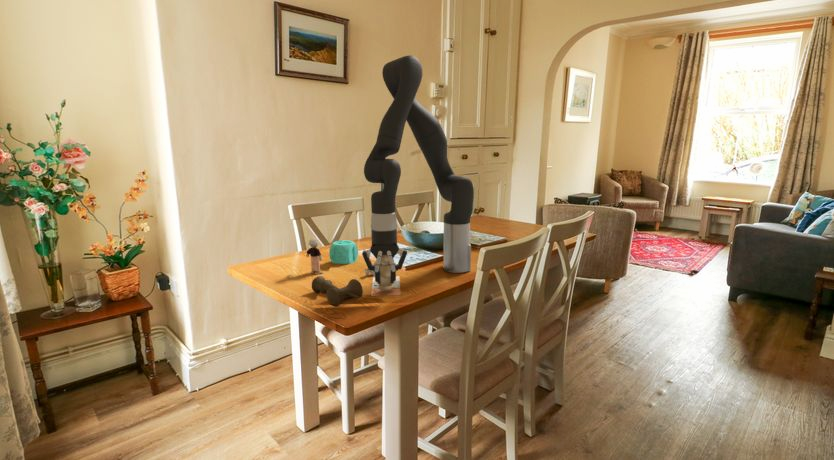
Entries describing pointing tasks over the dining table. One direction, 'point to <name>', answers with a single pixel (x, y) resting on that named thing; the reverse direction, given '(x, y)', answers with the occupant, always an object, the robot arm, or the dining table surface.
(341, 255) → the decorative dice
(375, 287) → the board
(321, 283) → the kendama
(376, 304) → the dining table surface
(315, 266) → the grandmother figurine
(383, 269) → the pawn
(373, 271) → the soldier figure
